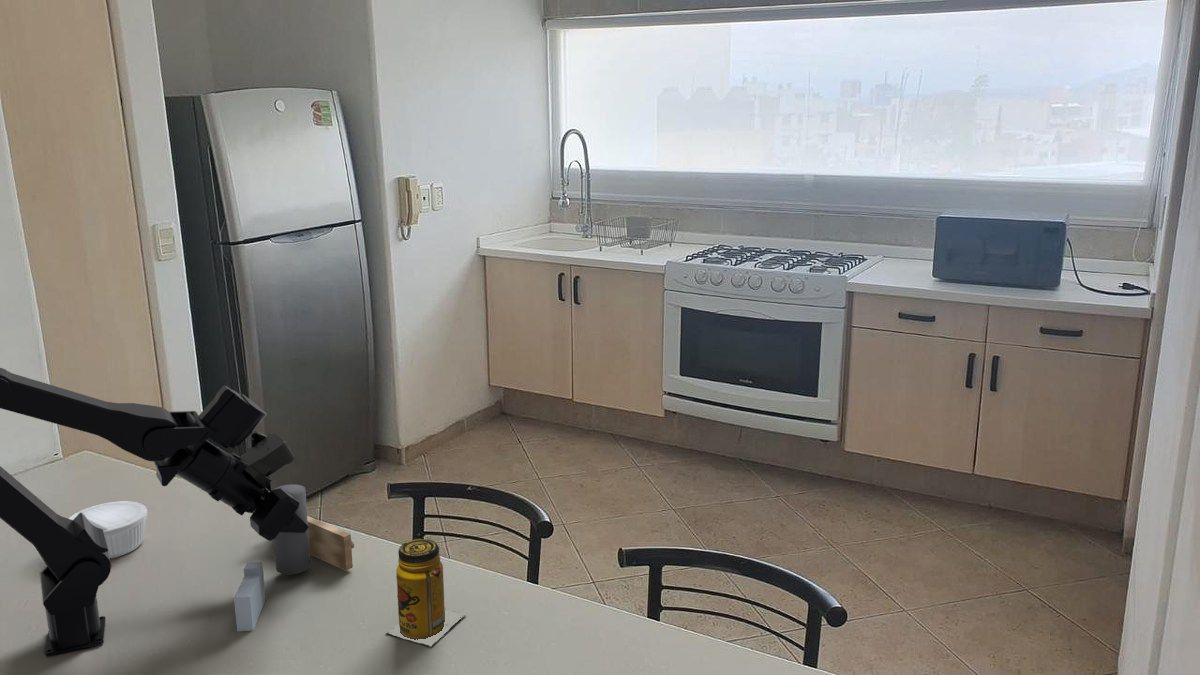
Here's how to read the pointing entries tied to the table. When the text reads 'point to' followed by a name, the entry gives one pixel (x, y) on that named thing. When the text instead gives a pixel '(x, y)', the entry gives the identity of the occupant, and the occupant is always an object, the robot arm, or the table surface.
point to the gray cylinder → (293, 539)
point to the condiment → (420, 589)
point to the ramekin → (119, 524)
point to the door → (330, 544)
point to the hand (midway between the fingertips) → (299, 523)
